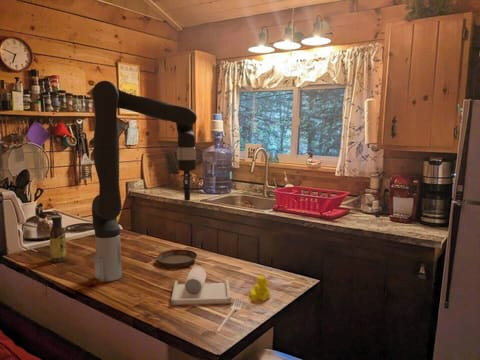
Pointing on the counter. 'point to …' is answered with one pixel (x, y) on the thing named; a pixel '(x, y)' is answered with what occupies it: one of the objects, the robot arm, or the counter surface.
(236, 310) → the fork
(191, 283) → the can
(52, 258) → the sauce bottle
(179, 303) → the tray
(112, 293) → the counter surface
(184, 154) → the robot arm
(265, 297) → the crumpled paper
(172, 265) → the plant saucer
